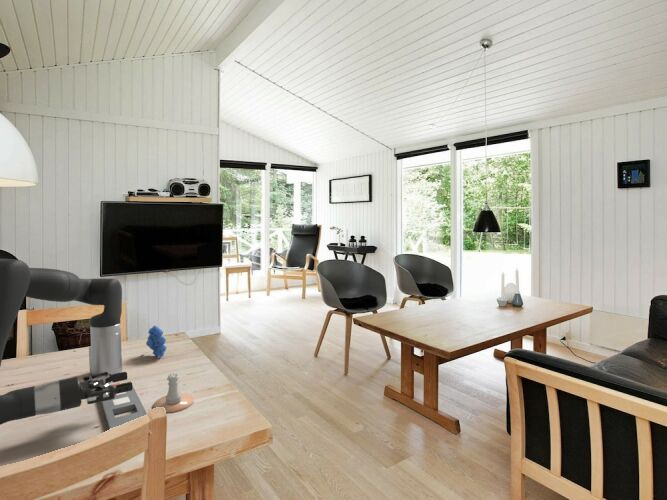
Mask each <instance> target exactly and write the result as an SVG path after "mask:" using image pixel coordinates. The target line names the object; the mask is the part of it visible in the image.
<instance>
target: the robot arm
mask: <svg viewBox="0 0 667 500" xmlns="http://www.w3.org/2000/svg"><path fill="white" fill-rule="evenodd" d="M25 297H26V298H30V299H35V300H40V301H48V302H57V303H58V302H59V303H66V302H67V303H68V302H73V301H74V302H78V303H84V304H86V305H89V306H103V312H101V313H98V314H95V315H93V316H91V317H90V319H89V329H90V331H89V332H90V346H89V347H88V359H89V363H88V364H89V374H90V375H84V376H83V378H82V379H83V380H82V381H81V380H80V377H79V376H74V377H68V378H63V379H59V380H54V381H48V382H43V383H40V384H37V385H32V386H29V387H27V386H26V387H23V388H18V389H14V390H11V391H8V392H6V393H3V394H0V425H3V424H5V423H8V422H12V421H18V420H22V419H27V418H32V417H35V416H42V415H48V414H50V415H51V414H53V413H57V412H58V413H59V412H62V411H63V412H64V411H67V410H71V409H74V408H79V407H81V405H82V400H86V403H87V405H91V404H97V403H101V402H102V401H107V400H111V399H114V398H115V396H116V395H117V394H119V393H123V392H128V391H131V390H132V389H133V387H134V386H133V387H132V385H133V383H132V382H133V381H132V382H130V381H126V380H128V372H127V371H123V354H122V350H123V349H122V330H121V329H122V328H121V327H122V325H121V316H122V312H123V311H122V309H123V307H122V306H123V304H122V303H123V301H122V300H123V288H122V284H121V282H120V281H119V280H118V279H117V278H80V277H79V276H78V275H77V274H75V273H73V272H70V271H66V270H61V269H55V268H46V267H45V268H43V267H42V268H41V267H29V265H28V264H27V263H26V262H24V261H23V260H19V259H13V258H3V257H2V258H1V257H0V367H1V366H2V362H3V361H2V360H3V357H4V352H5V349H6V344H7V342H8V338H9V336H10V333H11V330H12V328H13V326H14V323H15V321H16V319H17V317H18V314H19V311H20V309H21V306H22V304H23V302H24V299H25ZM121 381H126V382H127V383H125V382H122V383H123V384H121V383H120V384H118V385H113V384H115V383H117V382H118V383H119V382H121ZM107 396H108V397H107Z"/></svg>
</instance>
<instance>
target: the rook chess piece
mask: <svg viewBox="0 0 667 500" xmlns="http://www.w3.org/2000/svg"><path fill="white" fill-rule="evenodd" d="M179 379H180V376H179V375H178V373H169V374H168V377H167V378H166V380H167V381H168V383H167V385H168V392H167V393H166V395H165V396H166V401H165V402H166V403H167V404H170V405H172V404H177V403H179V402H180V401H181V399H182V398H181V394H180V392H181V391H180V390H179V385H178V384H179V381H178V380H179Z"/></svg>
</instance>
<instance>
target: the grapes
mask: <svg viewBox="0 0 667 500" xmlns="http://www.w3.org/2000/svg"><path fill="white" fill-rule="evenodd" d="M147 333H148V334H149V335H148V337H147V341H146V343H145V345H146V346H147V347H149V349H150V350H152V354H153V355H154V356H155V357H159V358H163V357H164V355H165V352H166V350H167V346H166V345H165V344H166V342H167V339H166V338H165V337H164V336H163V335H164V331H163V330H162V329H160V328H159V327H158V326H157V325H153V326H152V327H150V328H149V330H148V331H147Z"/></svg>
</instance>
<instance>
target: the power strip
mask: <svg viewBox="0 0 667 500" xmlns="http://www.w3.org/2000/svg"><path fill="white" fill-rule="evenodd" d="M127 382H128V381H125V382H121V383H119V382H118V383H117V382H116V383H112V385H118V384H123V383H127ZM129 382H131V381H129ZM132 387H133V389H132V390H131V391H128V392H123V393H119V394H117V395H116V396H115V398H114V399H111V400H107V401H102V402H100V403H101V406H102V410H103V413H104V417H105V421H106V423H107V428H108V429H110V428H113V427H116V426H119V425H122V424H124V423H126V422H129V421H131V420H134V419H136V418H139V417H141V416H144V415H146V414H147V415H148V413H147V410H146V409H145V407H144V405H143V403H142V402H141V399H140V397H139V395H138V393H137V391H136V389H135V387H134V386H133V384H132ZM107 397H108V396H107ZM132 410H135V412H131V413H128V414H125V415H122V416H117V417H115V415H116V414H121V413H125V412H130V411H132Z"/></svg>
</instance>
